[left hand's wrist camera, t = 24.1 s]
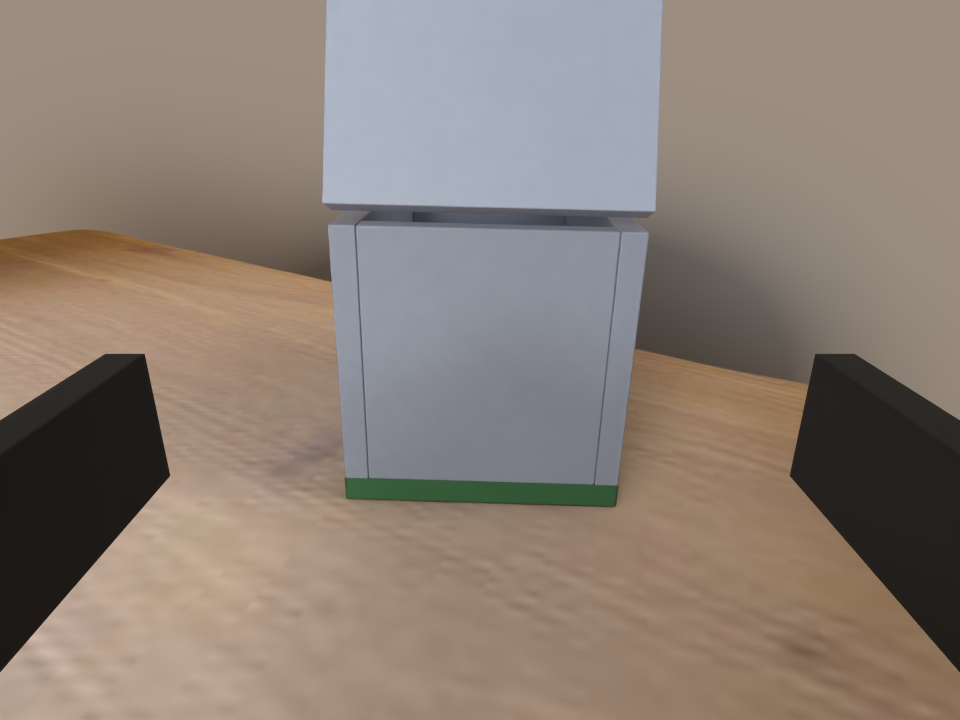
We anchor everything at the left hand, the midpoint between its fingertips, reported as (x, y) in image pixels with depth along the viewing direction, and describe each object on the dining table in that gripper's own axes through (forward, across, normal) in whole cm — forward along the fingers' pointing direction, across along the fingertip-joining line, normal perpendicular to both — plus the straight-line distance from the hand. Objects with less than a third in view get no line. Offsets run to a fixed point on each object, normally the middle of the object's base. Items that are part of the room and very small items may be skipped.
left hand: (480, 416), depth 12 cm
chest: (+17, 0, -8) cm, 19 cm away
